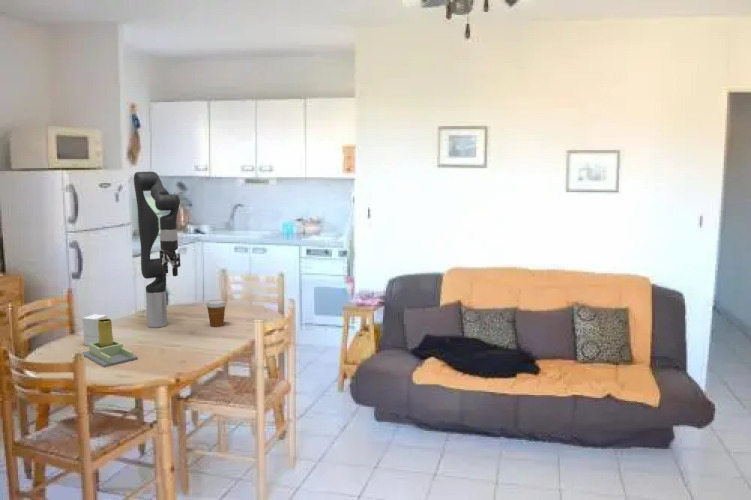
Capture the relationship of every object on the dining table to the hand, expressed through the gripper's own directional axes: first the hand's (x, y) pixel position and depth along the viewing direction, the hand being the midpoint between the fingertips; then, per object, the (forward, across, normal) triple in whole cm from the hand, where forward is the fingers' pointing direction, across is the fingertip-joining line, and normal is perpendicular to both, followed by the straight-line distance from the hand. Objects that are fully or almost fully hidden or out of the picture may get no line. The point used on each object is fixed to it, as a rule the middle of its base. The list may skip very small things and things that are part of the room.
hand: (170, 274), depth 298 cm
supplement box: (+30, -17, -28) cm, 45 cm away
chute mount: (+30, +5, -32) cm, 44 cm away
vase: (+29, +2, -32) cm, 43 cm away
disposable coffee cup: (+30, -6, +27) cm, 41 cm away
